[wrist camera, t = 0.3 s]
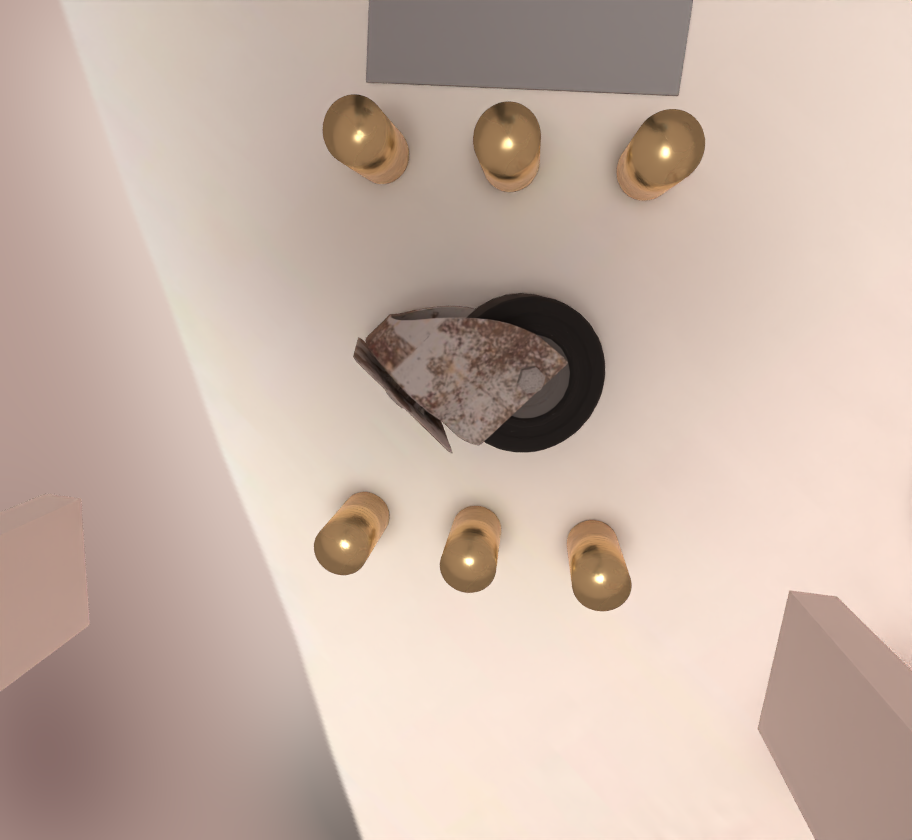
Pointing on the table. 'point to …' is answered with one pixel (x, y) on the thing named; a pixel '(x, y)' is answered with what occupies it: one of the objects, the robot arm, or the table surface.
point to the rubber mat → (530, 44)
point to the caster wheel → (490, 370)
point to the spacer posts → (508, 169)
